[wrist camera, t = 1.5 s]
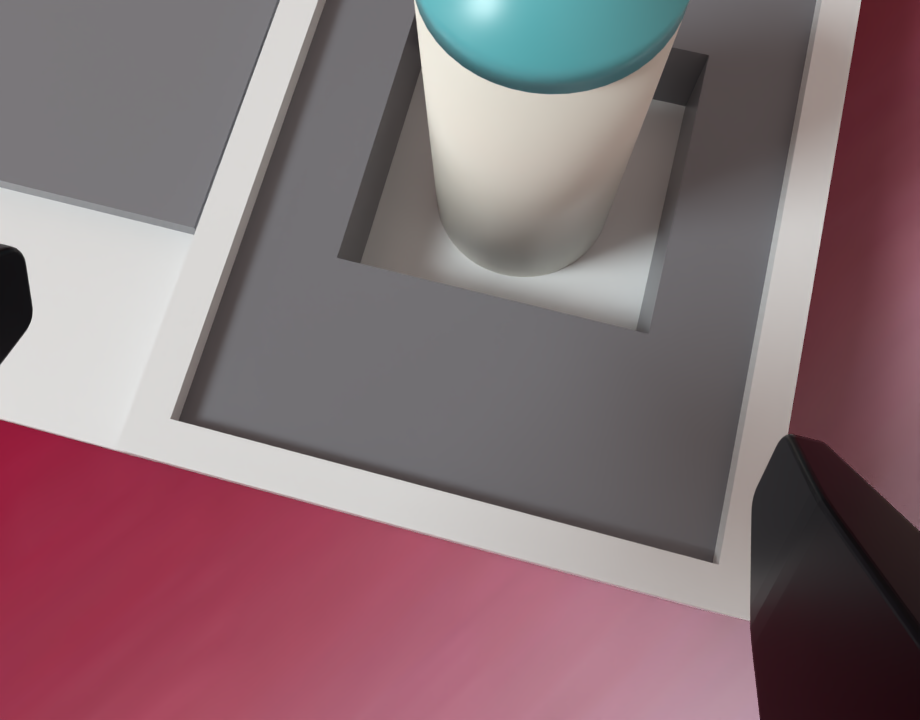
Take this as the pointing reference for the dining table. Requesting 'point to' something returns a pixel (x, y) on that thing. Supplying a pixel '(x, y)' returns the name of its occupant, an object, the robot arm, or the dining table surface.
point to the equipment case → (417, 279)
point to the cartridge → (536, 118)
